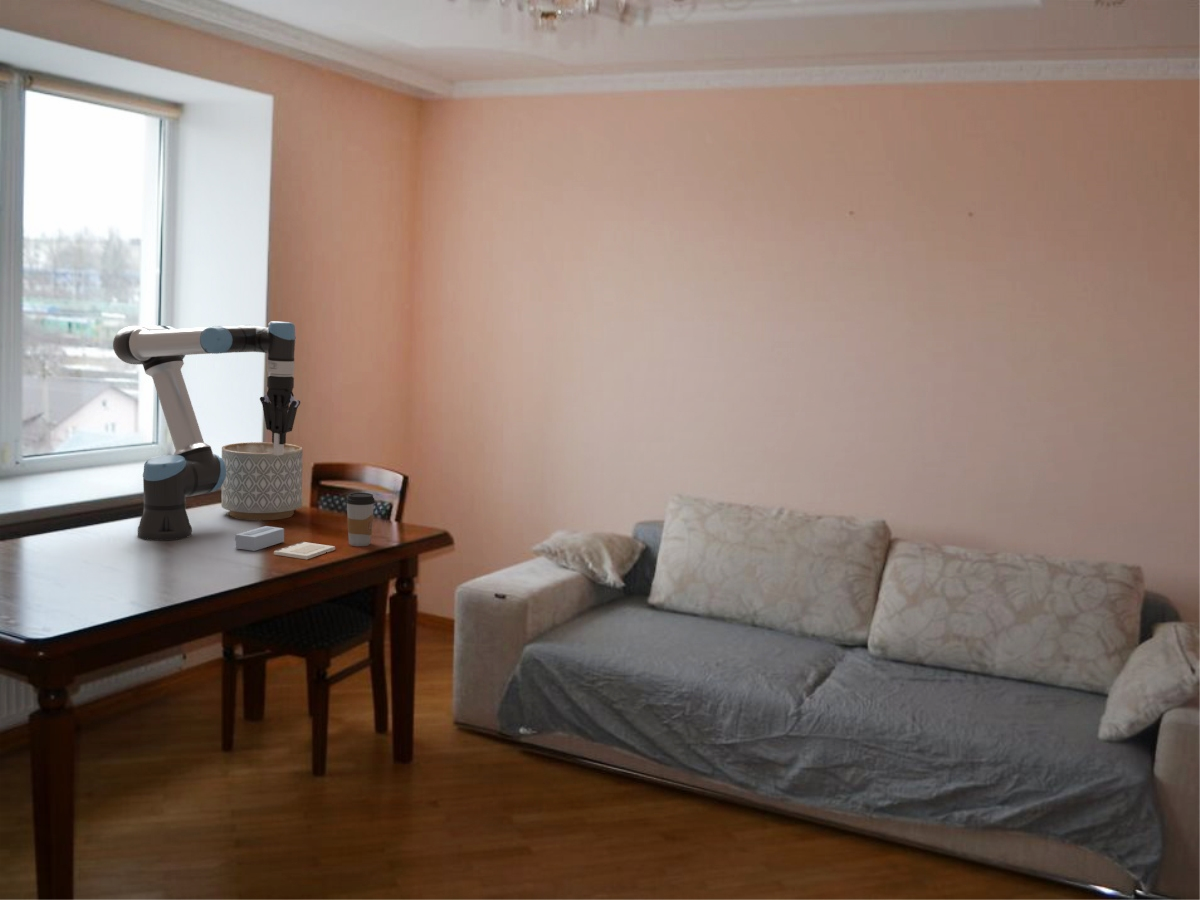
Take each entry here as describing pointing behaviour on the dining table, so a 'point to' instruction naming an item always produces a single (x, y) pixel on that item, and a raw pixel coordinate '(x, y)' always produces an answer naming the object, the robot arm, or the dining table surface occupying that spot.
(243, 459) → the planter
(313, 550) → the cream rectangular plate
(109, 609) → the dining table surface
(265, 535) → the grey slotted block
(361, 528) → the coffee cup
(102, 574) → the dining table surface
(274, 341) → the robot arm
